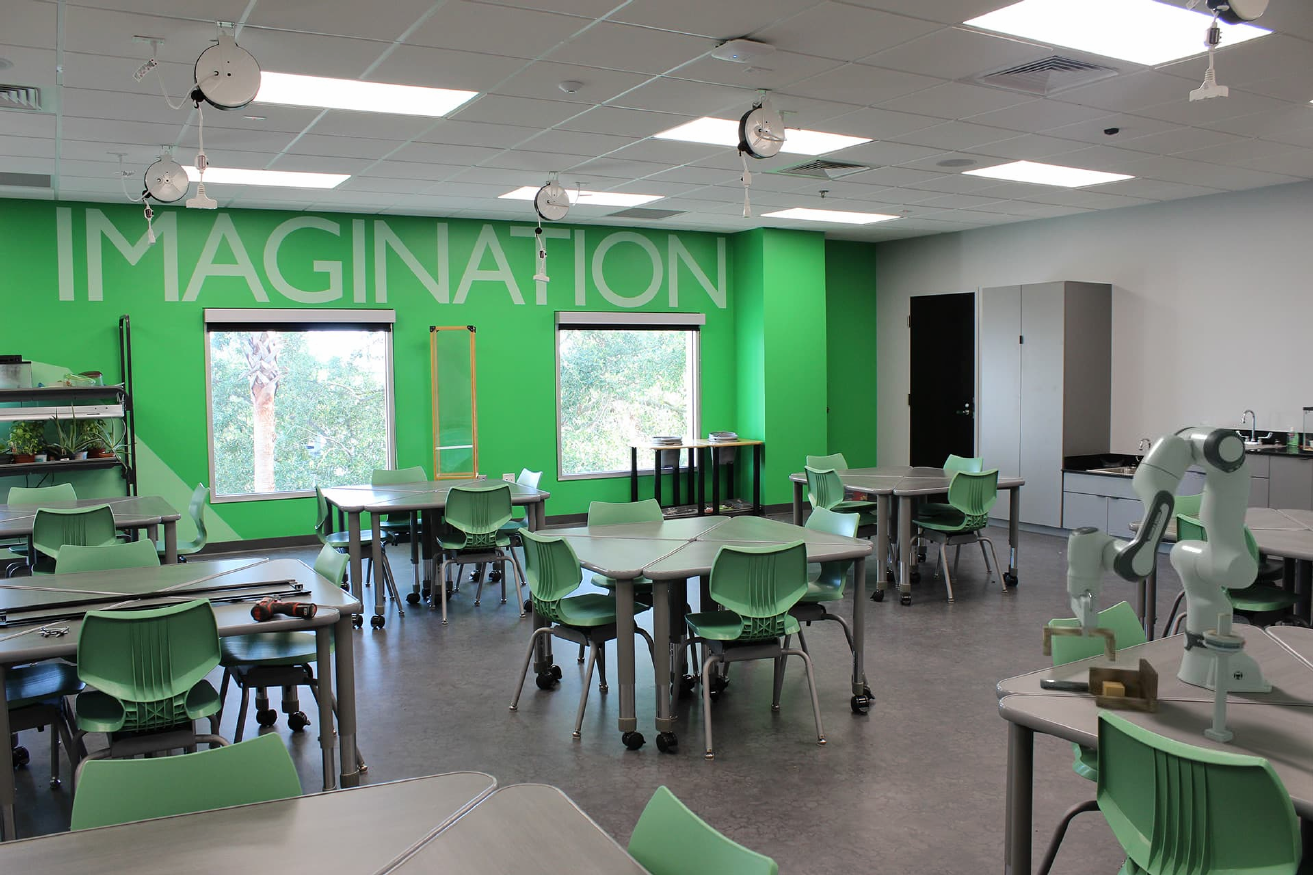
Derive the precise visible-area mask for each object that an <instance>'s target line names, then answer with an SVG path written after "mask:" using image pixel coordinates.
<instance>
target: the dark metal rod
mask: <svg viewBox="0 0 1313 875" xmlns="http://www.w3.org/2000/svg"><path fill="white" fill-rule="evenodd" d="M1039 685H1040V688H1041V689H1050V690H1064V691H1076V692H1088V693H1089V682H1085V681H1084V682H1083V681H1069V680H1058V679H1044V678H1040V681H1039Z"/></svg>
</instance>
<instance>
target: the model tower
mask: <svg viewBox="0 0 1313 875" xmlns="http://www.w3.org/2000/svg"><path fill="white" fill-rule="evenodd" d="M1230 622H1231V615H1230V614H1225V613H1219V614H1218V629H1207V630H1205V631H1204V632H1203V636H1204V639H1205V640H1203V644H1204V645H1205V646H1206V647H1207V648H1208V649H1210V650H1211V651H1212V652H1213V653H1214V654H1215V655H1216V675H1215V691H1214V698H1213V700H1214V701H1213V703H1214V704H1213V719H1212V721H1213V722H1212V727H1211V728H1206V729H1204V737H1205V738H1208V739H1210V740H1212V741H1216V742H1218V743H1220V744H1221V743H1222V744H1223V743H1227V742H1229V741H1232V740H1233V737H1234V735H1233V734H1234V732H1231V731H1229V730H1226V722H1227V721H1226V718H1227V717H1226V716H1227V702H1228V701H1227V699H1228V698H1227V697H1228V692H1227V682H1228V662H1229V657H1230V656H1232V655H1234V654H1236V653H1238V652H1240V651H1241V650H1243V651H1244V649H1245V646H1243V645H1242V644H1243V642H1244V641H1245V637H1244V635H1243V634H1242V633H1240V632H1237V631H1233V630H1232V631H1230Z"/></svg>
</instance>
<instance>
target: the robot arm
mask: <svg viewBox="0 0 1313 875" xmlns="http://www.w3.org/2000/svg"><path fill="white" fill-rule="evenodd" d="M1193 465H1194V466H1196V467H1201V468H1204V470H1205V475H1206V478H1205V483H1204V486H1203V491H1202V496H1201V500H1200V506H1199V511H1198V516H1197V517H1198V520H1199V522H1200V524H1201V525H1202V526H1203V528H1204V530H1205V533H1206V538H1207V539H1206V540H1207V541H1204V540H1201V539H1183V540H1180V541H1178V542H1176V543H1175V544H1174V545H1173V546H1172V548H1171V550H1170V552H1169V559H1170V564H1171V566H1172V567H1173V569H1174V570H1175V571H1176V573H1177V575H1178V576H1179V578H1180V580H1181V584H1182V586H1183V591H1184V593H1185V594H1184V595H1185V597H1186V627H1185V628H1184V633H1183V648H1184V651H1183V657H1182V661H1181V665H1180V668H1179V671H1178V673H1177V678H1179V680H1181V681H1183V682H1185V683H1188V684H1191V685H1194V686H1198V687H1202V688H1205V689H1208V690H1210V691H1214V692H1215V675H1216V655H1215V654H1214V653H1213V652H1212V651H1211V650H1210V649H1208V648H1207V647H1206V646H1205V645H1204V644H1203V640H1205V639H1204V636H1203V632H1204V631H1205V630H1207V629H1218V614H1219V613H1225V614H1230V615H1231V622H1230V631H1233V620H1234V619H1233V618H1234V616H1233V615H1234V608H1233V604H1232V603H1231V601H1230V599H1228V598H1227V596H1226V594H1225V593H1224V591H1223V588H1225V589H1245V588H1248V587H1250V586H1251V585H1252V584H1254V582H1255V580H1256V579H1257V578H1258V573H1259V568H1258V563H1257V561H1256V560H1255V558H1254V557H1253V556H1252V555H1251V552H1250V550H1249V548H1248V545H1247V540H1246V535H1245V524H1246V523H1245V522H1246V516H1247V510H1248V504H1249V499H1250V492H1251V486H1252V485H1251V484H1252V481H1251V480H1252V470H1251V464H1249V462H1248V461H1247V460H1246V443H1245V441H1244V439H1243V437H1242V436H1241V435H1240V434H1239V433H1238V432H1235V431H1234V430H1231V429H1228V428H1219V427H1215V426H1201V427H1199V426H1198V427H1195V426H1188V427H1184V428H1181V429H1179V430H1178V431H1176V432H1175V433H1174V434H1164V435H1161V436H1159V437H1158V438H1157V439H1156V440H1155V442H1153V444H1152V445H1151V446H1150V447H1149V449H1148V450H1147V452H1146V453H1145V455H1144V456H1143V458H1142V459H1141V461H1140V463H1139V464H1138V466H1137V469H1136V470H1135V472H1134V474H1133V478H1132V481H1131V487H1132V489H1133V492H1134V494H1135V495H1136V497H1137V498H1138V499H1139V500H1140V502H1142V504H1143V506H1144V515H1143V517H1142V520H1141V523H1140V524H1139V528H1138V530H1137V532H1136V535H1135V537H1134V539H1132V540H1131V541H1130V542H1129V541H1126V540H1124V539H1121V538H1118V537H1114V536H1112V535H1109V534H1107V533H1105V532H1103V531H1101V530H1100V528H1098V527H1095V526H1082V527H1078V528H1075V529H1073V530H1072V531H1071V532H1070V534H1069V537H1068V543H1067V553H1066V554H1067V555H1066V556H1067V562H1068V569H1067V572H1066V584H1067V585H1066V591H1067V592H1068V593H1069V603H1070V606H1071V611H1073V613H1074V614H1075V616H1076V618H1077V622H1078V627H1082V630H1081V635H1082V636H1081V637H1082V638H1090V637H1089V631H1090V628H1099V627H1098V625H1099V608H1098V596H1100V595H1102V594H1103V573H1104V572H1108V573H1109V574H1113V575H1116V576H1118V577H1120V578H1122V579H1123V580H1125V581H1127V582H1128V583H1129V582H1130V583H1133V584H1134V583H1141V582H1144V581H1146V580H1147V579H1148V578H1149V577H1151V575H1152V574H1153V573H1154V570H1156V565H1157V556H1158V552H1159V550H1160V546H1161V544H1162V541H1163V538H1164V536H1165V533H1166V531H1167V528H1168V526H1169V524H1170V521H1171V518H1172V516H1173V513H1174V509H1175V506H1176V505H1175V502H1176V501H1175V496H1176V493H1177V490H1178V488H1179V485H1180V484H1181V482H1182V481H1183V480H1182V479H1183V478H1184V477H1185V476H1184V475H1185V474H1186V471H1188V469H1189V468H1190V467H1191V466H1193ZM1246 644H1247V642H1246V640H1244V642H1243V644H1242V645H1243V646H1244V647H1245V645H1246ZM1272 688H1273V687H1272V685H1271V683H1270V681H1268V680H1266V678H1263V671H1262V668H1261V666H1260V664H1259V663H1258V662H1257V661H1256V660H1255V659H1254V658H1253V657H1252V656H1250V655H1249V654H1248V653H1247V652H1245V651H1244V649H1243V650H1241V651H1240V652H1238V653H1236V654H1234V655H1232V656H1230V657H1229V662H1228V682H1227V693H1229V692H1231V693H1233V692H1234V693H1235V692H1236V693H1237V692H1238V693H1271V692H1272V690H1273V689H1272Z"/></svg>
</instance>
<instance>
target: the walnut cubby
mask: <svg viewBox="0 0 1313 875" xmlns="http://www.w3.org/2000/svg"><path fill="white" fill-rule="evenodd" d="M1138 661H1139V662H1138V665H1139V666H1138V670H1136V669H1135V670H1134V669H1123V668H1110V667H1109V668H1107V667H1094V666H1089V668H1088V669H1089V670H1088V672H1089V674H1088V685H1089V690H1088V693H1089V695H1095V706H1096V707H1099V708H1100V707H1103V708H1113V709H1115V708H1116V709H1125V710H1135V711H1136V710H1138V711H1149V712H1150V713H1155V714H1156V713H1157V709H1158V708H1157V707H1158V693H1159V692H1158V690H1159V689H1158V688H1159V687H1158V686H1159V673H1158V672H1157V671H1156V670H1155V669H1154V668H1153V666H1152V665H1151V663H1150V662H1149V661H1148V660H1147V659H1146V658H1139V660H1138ZM1103 681H1108V682H1121V683H1122V685H1123V686H1124V688H1125V694H1124V697H1116V696H1103V695H1102V682H1103Z"/></svg>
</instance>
